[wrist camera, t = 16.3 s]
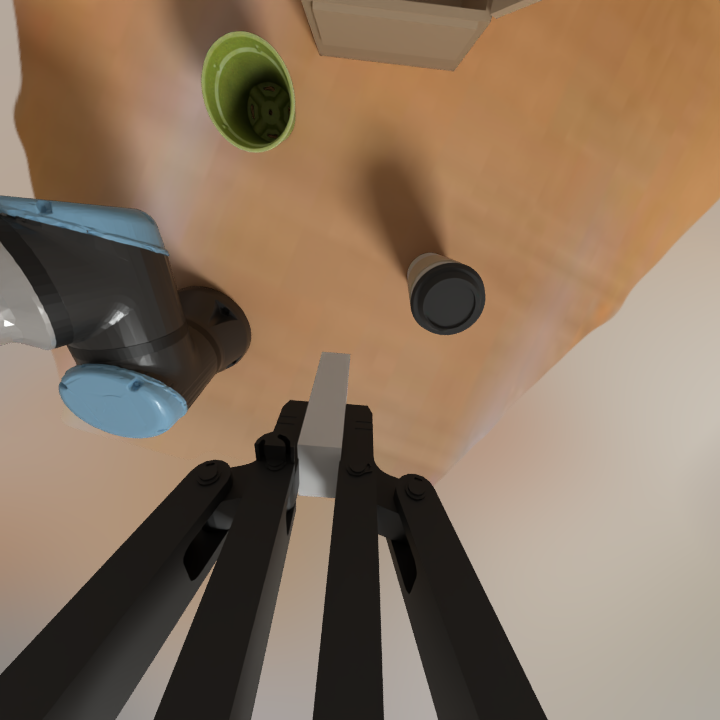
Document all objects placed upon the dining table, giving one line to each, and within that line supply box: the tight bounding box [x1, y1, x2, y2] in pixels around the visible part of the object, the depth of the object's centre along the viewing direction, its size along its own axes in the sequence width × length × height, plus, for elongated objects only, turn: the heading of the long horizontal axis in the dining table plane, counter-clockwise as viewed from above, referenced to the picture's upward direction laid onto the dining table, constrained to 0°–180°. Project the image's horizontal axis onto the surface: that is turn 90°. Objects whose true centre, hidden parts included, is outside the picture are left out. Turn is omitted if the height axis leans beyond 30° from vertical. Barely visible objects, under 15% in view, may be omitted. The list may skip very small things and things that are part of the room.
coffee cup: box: [407, 253, 485, 335], centre depth 41 cm, size 9×9×15 cm
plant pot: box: [201, 31, 295, 152], centre depth 34 cm, size 9×9×9 cm
